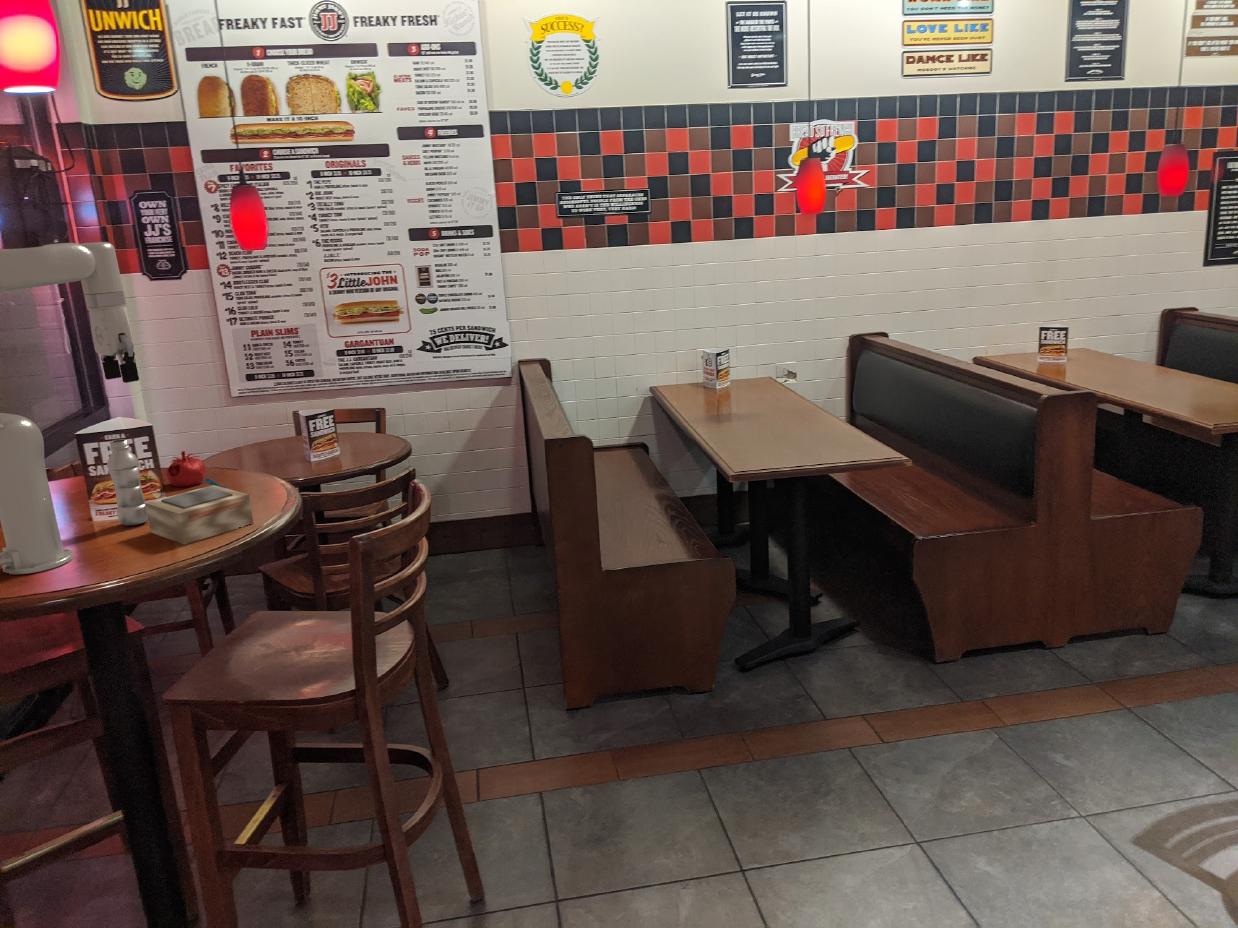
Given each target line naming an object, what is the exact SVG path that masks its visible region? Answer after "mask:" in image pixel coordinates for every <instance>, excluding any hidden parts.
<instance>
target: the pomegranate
mask: <svg viewBox="0 0 1238 928" xmlns="http://www.w3.org/2000/svg"><path fill="white" fill-rule="evenodd" d="M199 457H201V456H200V455H194V453H189V454H187V455H186V451H185V450H182V451H181V457H178V456H173V457H171V459H172V460H171V461H170V463H171V464H170V465H169V466H168V467H167V468H166V470H165V477H166V478H167V480H168V482H169V483H170V485H172V486H175V487H177V488H178V487H179V488H182V487H183V488H185V487H187V488H188V487H193V486H196V485H200V484H202V483H203V482H204V480H205V479H206V471H207V468H206V465H205V464H204V462H203V461H202V459H200V458H199Z"/></svg>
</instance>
